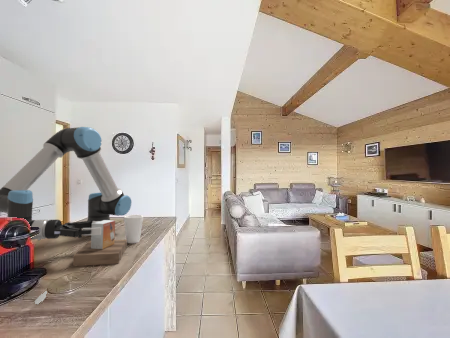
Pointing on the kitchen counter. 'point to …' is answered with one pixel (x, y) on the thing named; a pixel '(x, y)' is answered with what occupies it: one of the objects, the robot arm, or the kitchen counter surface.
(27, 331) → the kitchen counter surface
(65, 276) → the kitchen counter surface
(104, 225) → the small box
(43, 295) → the butter knife
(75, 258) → the walnut plinth
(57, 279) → the kitchen counter surface
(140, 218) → the foam cup
